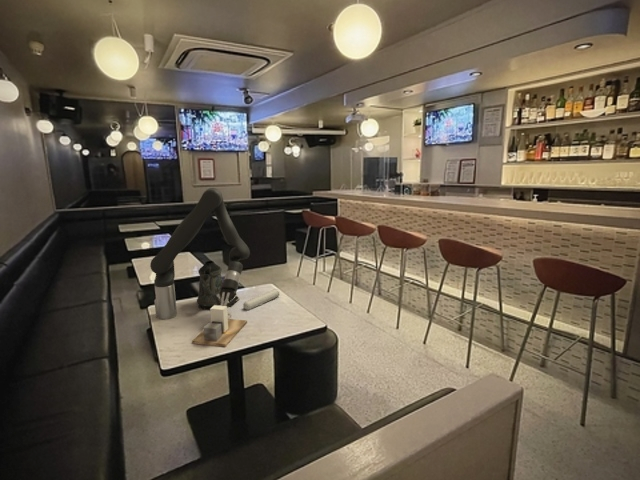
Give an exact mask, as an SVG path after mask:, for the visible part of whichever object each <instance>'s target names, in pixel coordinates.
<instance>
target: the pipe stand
mask: <svg viewBox="0 0 640 480" xmlns="http://www.w3.org/2000/svg"><path fill="white" fill-rule="evenodd" d="M247 324H248V320H243V319H236V318H235V319H234V318H232V314H231V313H228V329H227V331H226V332H223V333H222V330H221V324H217V323H211V322H208V323H207V324H206V325H204V326H203V327H202V328H203V330H202V331H201V332H200V333H199V334H198V335H197V336H196V337H194V338H193V339H192V341H191V343H192V344H196V345H197V344H199V345H206V346H215V347H216V346H218V347H224V348H225V347H227V346H228V345H229V344H230V343H231V342H232V341H233V339H234V338H235V337H236V336H237V335H238V334H239V333H240V332H241V330H243V328H244V327H245V326H246V325H247Z"/></svg>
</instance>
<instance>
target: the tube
mask: <svg viewBox="0 0 640 480" xmlns="http://www.w3.org/2000/svg"><path fill="white" fill-rule="evenodd" d="M279 297H280V291H279V290H278V289H277V288H273V289H272V290H269V291H267V292H264V293H261V294H260V295H257V296H254V297H252V298H250V299H248V300H245V301H244V303H243V306H242V307H243V309H244V310H246V311H250V310H252V309H254V308H257V307H259V306H261V305H262V304H265V303H268V302H270V301H272V300H275V299H277V298H279Z"/></svg>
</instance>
